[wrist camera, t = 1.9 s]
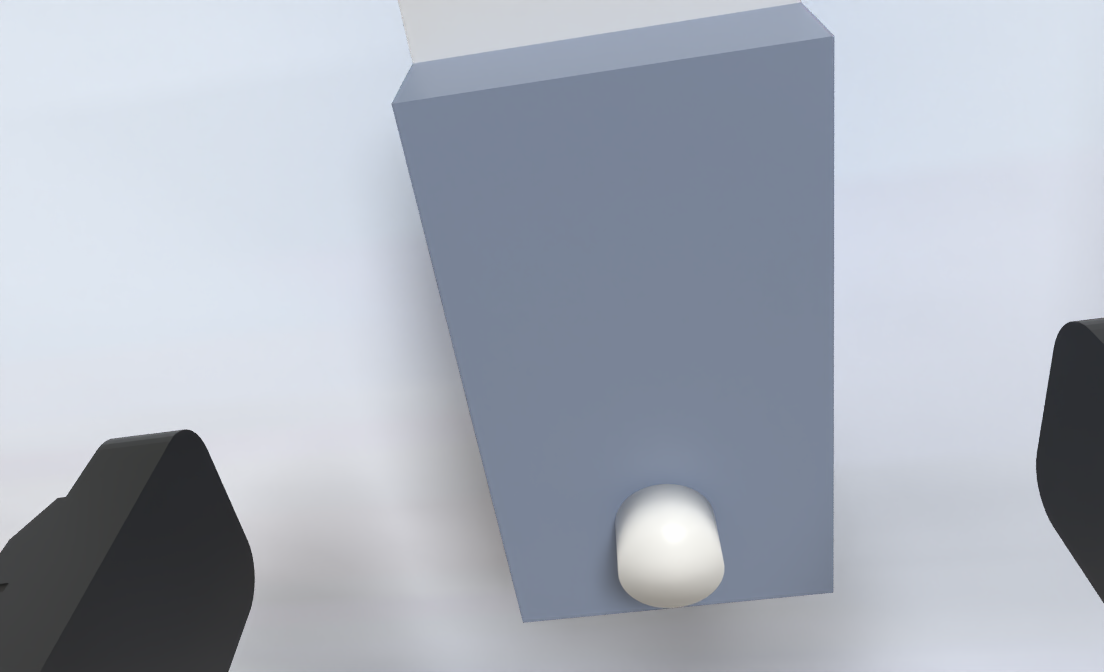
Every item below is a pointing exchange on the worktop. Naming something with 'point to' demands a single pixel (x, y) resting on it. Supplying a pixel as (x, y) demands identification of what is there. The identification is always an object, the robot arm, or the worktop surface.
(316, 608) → the worktop surface
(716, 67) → the servo
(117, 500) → the robot arm
